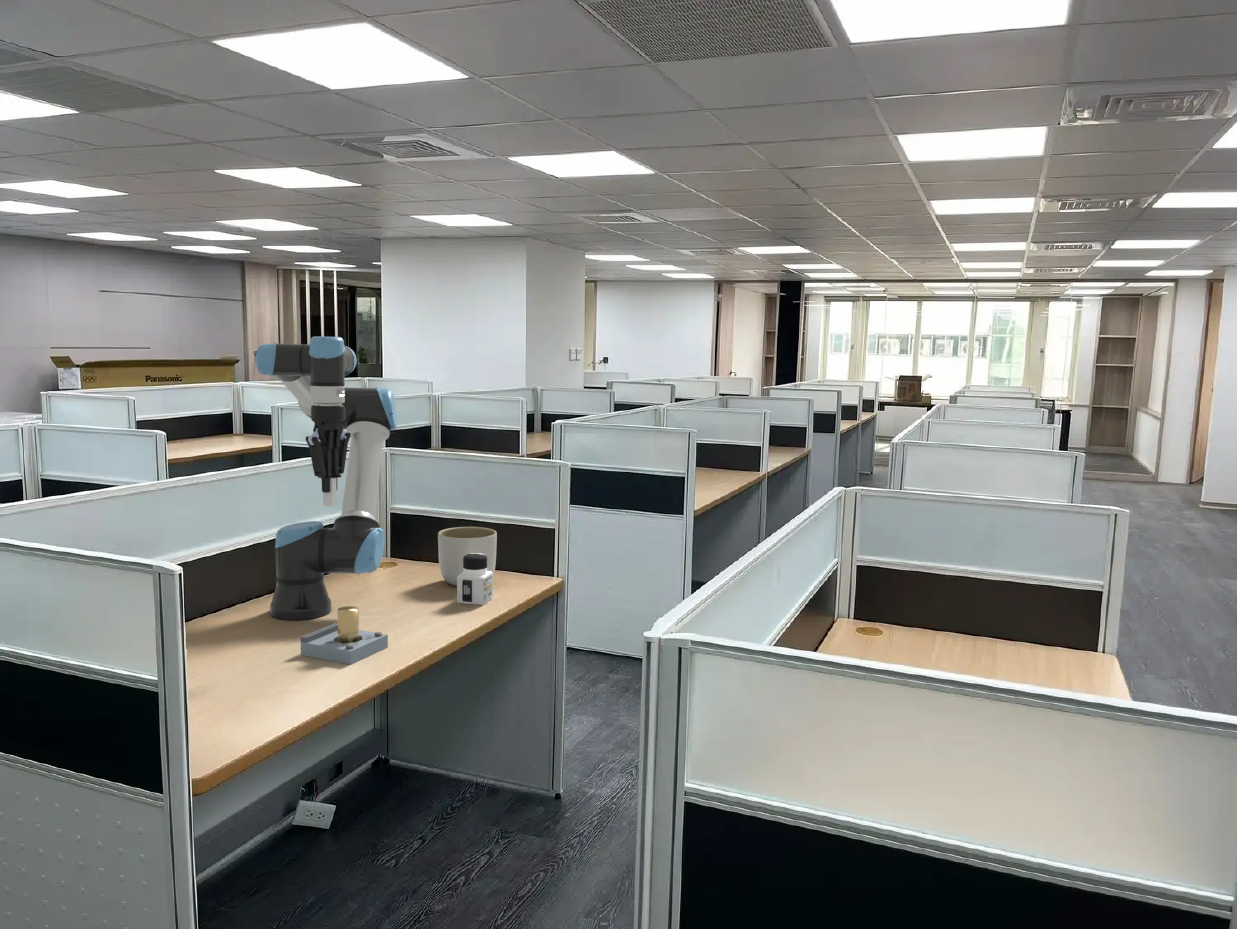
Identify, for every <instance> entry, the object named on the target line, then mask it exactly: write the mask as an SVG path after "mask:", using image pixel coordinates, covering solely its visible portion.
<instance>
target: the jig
mask: <svg viewBox="0 0 1237 929" xmlns="http://www.w3.org/2000/svg"><path fill="white" fill-rule="evenodd" d="M388 640H389V636H388V634H385V633H383V632H381V631H376V632H373V631H369V630H363V629H359V641H358V642H356V643H345V644H343V643H338V621H337V622H335V623H331V624H329V625H327V626H324V627H322V628H319V629H317V630H314V631H311V632H308V633H306V634H304V635H302V636H300V655H301V656H306V657H311V658H314V659H315V658H316V659H321V660H326V661H331V662H337V663H341V664H347V665H353V664H355V663H357V662H359V661H361V660H363V659H366V658H368V657H370V656H372V655H375V654H377V653H379V652H381V651H383V650H385V649H387V648H388V646H389V643H388V642H389V641H388Z"/></svg>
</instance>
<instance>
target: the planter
mask: <svg viewBox="0 0 1237 929" xmlns="http://www.w3.org/2000/svg"><path fill="white" fill-rule="evenodd" d="M497 534H498V533H497V531H496V530H494V529H492V528H489V527H482V526H458V527H449V528H445V529H442V530H440V531H438V533H437V543H438V544H437V545H438V546H437V547H438V548H437V549H438V565H439V573H440V574H441V577H442V578H443V579H444V581H446V583H447V584H449V585H451V586H455V587H457V576H458V575H460V574H461V573H463V572H464V571H463V557H464V556H465V555H467V554H470V553H481V554H484V555H486V556H487V571H492V572H493V575H494V574H495V570H496V562H497V543H498V542H497V540H498V539H497V538H498V535H497Z"/></svg>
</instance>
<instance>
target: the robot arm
mask: <svg viewBox="0 0 1237 929" xmlns="http://www.w3.org/2000/svg"><path fill="white" fill-rule="evenodd" d="M357 360H358V359H357V356H356V354H355V351H354V350H353V349H351V347H349V346H346V345H345V341H344V339H343V338H342V337H340V336H312V337H311V338H310V340H309V344H304V343H276V342H273V343H262V344H259V346H258V347H257V349H256V354H255V364H256V368H257V371H258V373H259V374H260V375H263V376H270V377H272V376H276V377H277V379H279V380H280V382H281V383H282V384H283V385H284V386H285V387H286V389H287V390H288V391H289V392H290V393H291V394H292V395H293V396H294V398H295V399H296V400H297V404H298V408H299V409H300V410H301V411H302V412H303V414H304V415H305V416H307V417H308V418H309V419H310V420H311V422H313V423H314V425H313V429H312V431H313V433H312V434H311V435H310V436H305V442H306V443H307V446H308V448H309V449H308V450H309V454H310V458H311V465H312V470H313V474H314V477H317V479H318V478H319V479H321V492H322V503H323V504H322V505H323V507H324V506H325V507H332V508H333V507H337V506H338V499H337V498H338V494H337V491H338V478H339V479H341V477H342V475H343V474H344V473H345V468H346V476H345V483H344V491H343V500H342V508H341V515H339V516H337V517H336V518H335V519H334V522H333V527H325V526H324V523H323V521H317V520H312V521H311V520H310V521H309V520H308V521H302V522H296V523H292V524H287V525H284V526H282V527H280V528H279V529H278V530H277V531H276V533H275V545H274V548H275V570H276V571H275V572H276V573H275V574H276V585H275V589H274V591H273V596H272V599H271V600H272V601H271V602H270V605H269V614H270V616H271V617H272V618H275V619H279V620H284V621H285V620H286V621H296V620H297V621H299V620H308V619H309V620H310V619H315V618H319V617H323V616H326V615H328V614H329V613H331V611H332V600H331V598H330V597H329V593H328V590H327V586H326V584H325V583H326V582H325V575H324V574H356V575H360V574H371V573H374V572H376V571H377V570H378V568H379V567H380V565H381V563H382V560H383V556H384V551H385V547H386V546H385V542H386V533H385V531H384V529H383V528H381V527H380V526H381V525H380V522H379V521H378V520H377V519H376V518H375V517H376V510H377V502H378V501H377V500H378V491H379V482H380V474H381V464H382V454H383V444H384V442H385V441H386V440H388V439H389V437H390V435H391V431H394V430H397V428H398V416H397V413H398V412H397V407H396V400H395V395H394V393H393V391H392V390H390V389H389V388H381V387H375V388H374V387H372V388H370V387H345V384H346V383H345V376H348V375H349V374H351V373H352V372H353V371H354V370H355V368H356V367H357V363H358V361H357ZM345 430H346V431H345ZM349 441H350V444H349ZM348 446H349V447H348ZM348 448H349V451H348ZM348 452H349V453H348ZM347 453H348V458H347ZM346 459H348V460H346ZM346 461H347V467H346Z"/></svg>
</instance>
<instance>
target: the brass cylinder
mask: <svg viewBox="0 0 1237 929" xmlns="http://www.w3.org/2000/svg"><path fill="white" fill-rule="evenodd" d="M359 612H360V610H359V607H357V606H352V605H351V606H349V605H348V606H342V607H338V608H337V612H336V613H337V622H338V643H343V644H345V643H356V642H358V641H359V630H360V626H359V624H360V623H359V622H360V620H359V618H360V616H359V614H360V613H359Z"/></svg>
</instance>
